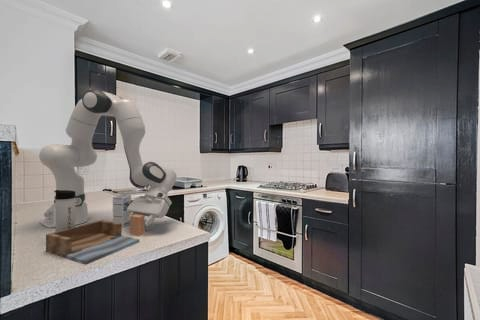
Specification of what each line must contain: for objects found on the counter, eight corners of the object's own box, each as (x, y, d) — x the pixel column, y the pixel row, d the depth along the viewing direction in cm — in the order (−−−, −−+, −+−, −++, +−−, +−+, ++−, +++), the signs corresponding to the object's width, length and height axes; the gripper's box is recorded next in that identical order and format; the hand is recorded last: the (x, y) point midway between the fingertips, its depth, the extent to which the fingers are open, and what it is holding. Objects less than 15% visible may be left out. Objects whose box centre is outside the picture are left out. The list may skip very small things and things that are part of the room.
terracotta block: (130, 234, 94) (130, 215, 94) (135, 232, 97) (136, 214, 97) (138, 236, 92) (138, 217, 92) (144, 234, 95) (144, 215, 95)
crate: (45, 251, 76) (45, 234, 76) (102, 233, 95) (102, 219, 95) (85, 264, 67) (85, 244, 67) (139, 241, 86) (139, 226, 86)
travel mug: (57, 238, 88) (57, 189, 88) (77, 236, 91) (77, 188, 91) (51, 244, 83) (51, 191, 83) (72, 241, 85) (72, 190, 85)
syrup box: (123, 227, 103) (123, 196, 103) (112, 226, 105) (112, 196, 104) (131, 224, 109) (131, 194, 109) (121, 223, 110) (121, 194, 110)
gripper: (134, 191, 105) (116, 217, 97) (168, 195, 97) (150, 222, 88) (142, 199, 110) (124, 224, 101) (174, 203, 101) (159, 230, 92)
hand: (137, 223), depth 94 cm, fingers open, 8 cm apart
